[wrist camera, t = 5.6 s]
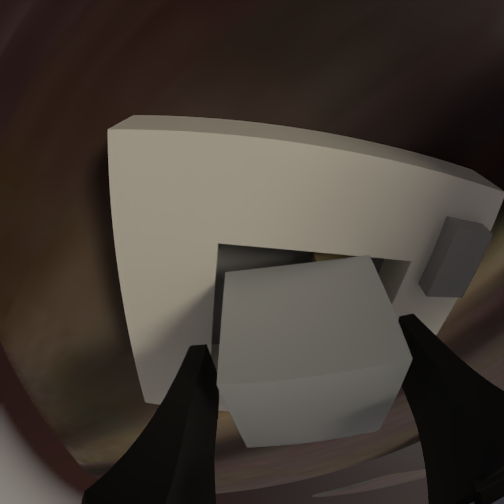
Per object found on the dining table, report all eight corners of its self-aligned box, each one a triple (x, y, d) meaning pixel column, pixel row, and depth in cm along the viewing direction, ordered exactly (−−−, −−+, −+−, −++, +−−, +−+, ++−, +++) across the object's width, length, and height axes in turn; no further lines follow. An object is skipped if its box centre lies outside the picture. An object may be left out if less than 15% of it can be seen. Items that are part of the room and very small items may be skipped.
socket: (471, 169, 11) (517, 201, 9) (374, 375, 19) (387, 417, 16) (133, 115, 10) (96, 135, 7) (152, 367, 18) (142, 414, 15)
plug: (357, 229, 12) (412, 358, 7) (350, 317, 15) (379, 430, 10) (227, 244, 12) (216, 384, 8) (247, 329, 15) (247, 447, 10)
